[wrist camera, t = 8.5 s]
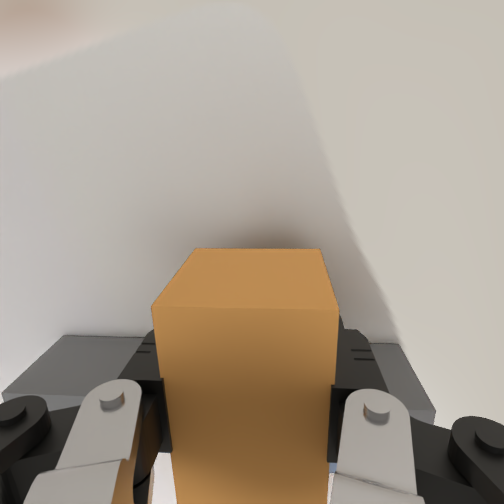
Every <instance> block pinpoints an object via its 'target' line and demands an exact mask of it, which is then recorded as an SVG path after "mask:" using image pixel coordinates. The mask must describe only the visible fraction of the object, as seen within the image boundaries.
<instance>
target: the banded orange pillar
mask: <svg viewBox="0 0 504 504" xmlns="http://www.w3.org/2000/svg"><path fill="white" fill-rule="evenodd" d="M151 311H152V318H153V326H154V333H155V341H156V348H157V356H158V363H159V371H160V378H164V385H165V393H166V401H167V408H168V416H169V424H170V432H171V439H172V447H173V451H172V453H170V454H171V461H172V469H173V476H174V484H175V491H176V499H177V504H327V494H328V478H329V463H327V444H328V428H329V411H330V395H331V384H332V385H335V371H336V355H337V340H338V325H339V307H338V304H337V301H336V298H335V294H334V291H333V288H332V285H331V282H330V279H329V276H328V273H327V269H326V266H325V263H324V260H323V257H322V254H321V251H320V249H237V248H195V250H194V251H193V252H192V254H191V255H190V256H189V257H188V259H187V260H186V261H185V263H184V264H183V265H182V267H181V268H180V269H179V270H178V272H177V273H176V274H175V276H174V277H173V278H172V280H171V281H170V282H169V283H168V285H167V286H166V287H165V289H164V290H163V291H162V293H161V294H160V295H159V296H158V298H157V299H156V300H155V302H154V303H153V304H152V305H151Z"/></svg>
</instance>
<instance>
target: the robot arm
mask: <svg viewBox="0 0 504 504" xmlns="http://www.w3.org/2000/svg"><path fill="white" fill-rule="evenodd" d="M172 451H173V447H172V439H171V432H170V424H169V416H168V408H167V401H166V393H165V385H164V378H160V371H159V363H158V356H157V348H156V341H155V333H154V329H153V330H151V331H150V332H149V333H148V334H147V335H146V337H145V338H144V340H143V341H142V343H141V345H140V346H139V347H138V348H137V350H136V353H134V354H133V356H132V357H131V359H130V360H129V362H128V363H127V365H126V366H125V368H124V369H123V371H122V372H121V373H120V375H119V376H118V378H117V379H116V380H112V381H109V382H106V383H103V384H101V385H99V386H98V387H96V388H94V389H93V390H92V391H90V392H89V393H88V394H87V395H86V397H85V398H84V400H83V402H82V404H81V405H78V406H74V407H69V408H64V409H59V410H53V411H48V407H47V403H46V401H45V400H44V399H43V398H42V397H40V396H35V395H27V396H21V397H17V398H14V399H11V400H8V401H6V402H4V403H2V404H0V504H152V494H153V484H154V467H153V465H154V462H155V459H156V457H157V454H158V452H165V453H172ZM327 463H337V469H336V471H335V474H334V480H333V486H332V493H331V501H330V504H504V426H503V425H501V424H500V423H497V422H495V421H493V420H489V419H486V418H482V417H475V416H468V417H462V418H459V419H458V420H456V421H455V422H454V424H453V426H452V429H451V430H449V429H446V428H442V427H438V426H435V425H432V424H428V423H425V422H422V421H420V420H417V419H415V418H413V417H411V416H410V415H409V413H408V410H407V409H406V407H405V406H404V404H403V403H402V402H401V401H399V400H398V399H397V398H396V397H394V396H392V395H390V393H389V391H388V388H387V386H386V383H385V381H384V379H383V376H382V374H381V371H380V369H379V366H378V364H377V361H375V357H374V354H373V352H372V349H371V347H370V344H369V342H368V339H367V338H366V337H365V336H363V335H362V334H361V333H360V332H359V331H358V330H351V329H344V326H343V323H342V319H341V316H340V314H339V325H338V340H337V355H336V371H335V385H332V384H331V395H330V411H329V428H328V444H327Z"/></svg>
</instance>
